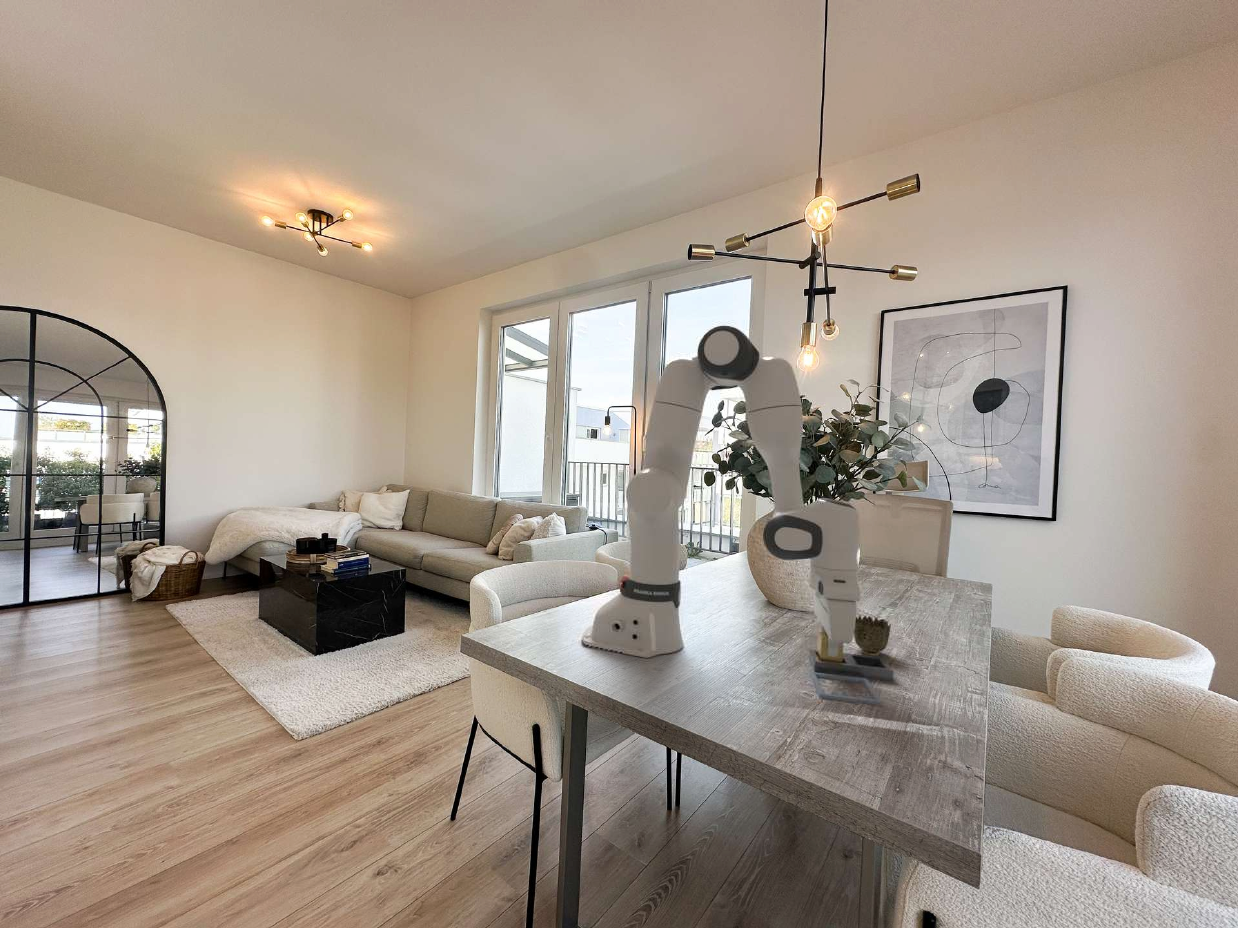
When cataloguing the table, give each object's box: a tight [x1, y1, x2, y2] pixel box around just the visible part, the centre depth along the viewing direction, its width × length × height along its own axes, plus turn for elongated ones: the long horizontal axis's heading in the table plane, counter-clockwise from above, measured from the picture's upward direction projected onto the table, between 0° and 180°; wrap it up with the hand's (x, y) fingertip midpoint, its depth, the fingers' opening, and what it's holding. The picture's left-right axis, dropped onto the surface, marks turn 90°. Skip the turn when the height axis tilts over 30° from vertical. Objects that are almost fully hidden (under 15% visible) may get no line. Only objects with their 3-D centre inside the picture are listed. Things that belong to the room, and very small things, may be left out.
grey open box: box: [808, 648, 895, 682], centre depth 100 cm, size 14×7×3 cm, turn 78°
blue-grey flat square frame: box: [809, 671, 884, 707], centre depth 91 cm, size 10×10×2 cm
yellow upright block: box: [816, 631, 844, 663], centre depth 101 cm, size 4×4×6 cm
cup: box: [853, 615, 892, 657], centre depth 111 cm, size 8×7×8 cm
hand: (829, 650), depth 101 cm, fingers closed on yellow upright block, 4 cm apart
